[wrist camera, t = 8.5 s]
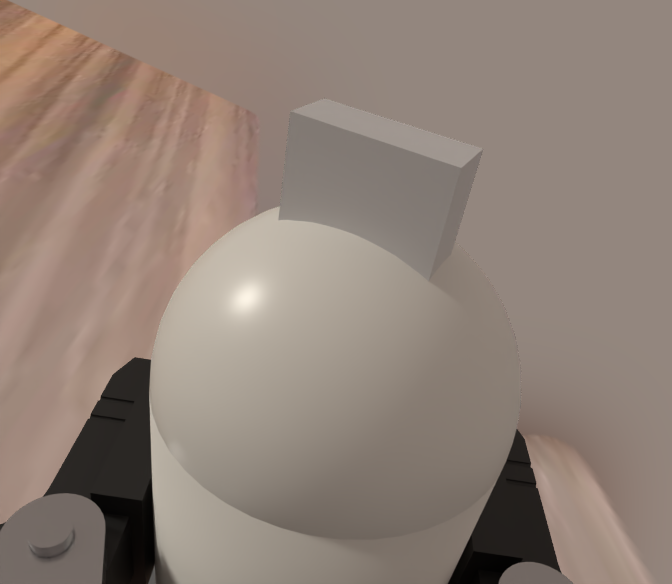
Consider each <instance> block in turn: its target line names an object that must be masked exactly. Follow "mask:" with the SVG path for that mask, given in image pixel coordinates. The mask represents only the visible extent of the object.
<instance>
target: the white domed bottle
mask: <svg viewBox="0 0 672 584" xmlns="http://www.w3.org/2000/svg"><path fill="white" fill-rule="evenodd" d="M482 152H483V148H480V147H476V146H473V145H470V144H467V143H464V142H461V141H458V140H454V139H451V138H448V137H445V136H442V135H439V134H435V133H432V132H429V131H426V130H423V129H420V128H417V127H413V126H410V125H407V124H404V123H401V122H398V121H395V120H391V119H388V118H385V117H382V116H378V115H376V114H372V113H369V112H366V111H363V110H360V109H357V108H353V107H350V106H347V105H344V104H341V103H338V102H335V101H332V100H328V99H322V100H319V101H317V102H314V103H311V104H308V105H306V106H303V107H300V108H298V109H295V110H292V111H291V112H290V119H289V128H288V138H287V147H286V156H285V164H284V173H283V182H282V192H281V201H280V206H279V207H276V208H273V209H270V210H267V211H265V212H263V213H261V214H259V215H257V216H255V217H253V218H251V219H249V220H247V221H245V222H243V223H241V224H239V225H238V226H237V227H235V228H234V229H232V230H231V231H229V232H228V233H227V234H225V235H224V236H223V237H221V238H220V239H219V240H217V241H216V242H215V243H214V244H213V245H212V246H210V247H209V248H208V249H207V250H206V251H205V252H204V253H203V254H202V256H201V257H200V258H199V259H198V260H197V261H196V262H195V263H194V264H193V265H192V267H191V268H190V269H189V271H188V272H187V273H186V275H185V276H184V278H183V279H182V281H181V282H180V284H179V285H178V287H177V288H176V290H175V291H174V293H173V295H172V297H171V299H170V301H169V303H168V306H167V308H166V310H165V312H164V315H163V317H162V319H161V321H160V324H159V328H158V332H157V336H156V340H155V344H154V348H153V352H152V356H151V369H150V388H149V402H150V432H151V462H152V491H153V521H154V551H155V581H156V584H448V582H449V580H450V578H451V576H452V574H453V572H454V570H455V568H456V565H457V563H458V561H459V559H460V557H461V555H462V553H463V551H464V549H465V547H466V544H467V542H468V540H469V538H470V536H471V534H472V532H473V530H474V528H475V526H476V523H477V521H478V519H479V517H480V515H481V513H482V511H483V509H484V507H485V505H486V502H487V500H488V498H489V496H490V494H491V492H492V490H493V488H494V486H495V484H496V481H497V479H498V477H499V475H500V473H501V471H502V469H503V467H504V465H505V463H506V460H507V458H508V455H509V452H510V449H511V447H512V444H513V440H514V437H515V433H516V429H517V425H518V419H519V413H520V407H521V367H520V360H519V354H518V349H517V343H516V338H515V334H514V331H513V329H512V326H511V323H510V320H509V318H508V315H507V312H506V309H505V307H504V305H503V303H502V301H501V299H500V297H499V296H498V294H497V292H496V291H495V289H494V287H493V285H492V284H491V282H490V280H489V279H488V277H487V276H486V275H485V273H484V272H483V271H482V269H481V268H480V267H479V266H478V265H477V263H476V262H475V261H474V260H473V259H472V258H471V257H470V255H469V254H468V253H467V252H466V251H465V250H464V249H463V248H462V247H461V246H460V245H458V244H457V243H456V242H455V240H456V236H457V233H458V229H459V227H460V223H461V220H462V217H463V214H464V210H465V207H466V204H467V201H468V197H469V194H470V191H471V188H472V184H473V181H474V178H475V174H476V171H477V168H478V165H479V161H480V158H481V155H482Z"/></svg>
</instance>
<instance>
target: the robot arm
mask: <svg viewBox="0 0 672 584" xmlns="http://www.w3.org/2000/svg"><path fill="white" fill-rule="evenodd" d="M150 369H151V360H148V359H142V358H136V357H135V358H133V359H132V360H131V361H129V362H128V363H127V364H126V365H124V366H123V367H122V368H121V369H119V370H118V371H117V372H115V373H114V374H113V375H112V377H111V379H110V381H109V382H108V384H107V386H106V388H105V390H104V391H103V393H102V395H101V399H100V401H99V400H98V402H97V404H96V406H95V407H94V409H93V411H92V413H91V416H90V419H88V420H87V422H86V423H85V425H84V427H83V429H82V431H81V432H80V434H79V436H78V438H77V439H76V441H75V443H74V445H73V447H72V448H71V450H70V452H69V454H68V456H67V457H66V459H65V461H64V463H63V464H62V466H61V468H60V470H59V472H58V473H57V475H56V477H55V479H54V480H53V482H52V484H51V486H50V487H49V489H48V490H47V492H46V493H45V495H44V496H43V497H41V498H39V499H36V500H34V501H32V502H30V503H28V504H27V505H25V506H23V507H22V508H20V509H19V510H18V511H17V512H15V513H14V514H13V515H12V516H11V517H10V518H9V519H8V520H7V522H5V523H3V524H0V584H148V583H149V580H150V577H151V574H152V571H153V568H154V565H155V551H154V521H153V491H152V462H151V432H150V402H149V388H150ZM530 465H531V462H530V458H529V454H528V450H527V447H526V443H525V439H524V438H523V436H522V435H521V434H520V432H519V431H518V430H517V429H516V433H515V437H514V440H513V444H512V447H511V449H510V452H509V455H508V458H507V460H506V463H505V465H504V467H503V469H502V471H501V473H500V475H499V477H498V479H497V481H496V484H495V486H494V488H493V490H492V492H491V494H490V496H489V498H488V500H487V502H486V505H485V507H484V509H483V511H482V513H481V515H480V517H479V519H478V521H477V523H476V526H475V528H474V530H473V532H472V534H471V536H470V538H469V540H468V542H467V544H466V547H465V549H464V551H463V553H462V555H461V557H460V559H459V561H458V563H457V565H456V568H455V570H454V572H453V574H452V576H451V578H450V580H449V582H448V584H573V583H572V582H571V581H570V580H569V579H568V578H567V577H566V576H564V575H563V574H562V573H561V571H560V568H559V565H558V562H557V558H556V554H555V551H554V547H553V543H552V539H551V536H550V532H549V528H548V525H547V521H546V517H545V513H544V510H543V506H542V502H541V499H540V495H539V491H538V488H536V480H535V476H534V473H533V469H532V468H531V467H530Z"/></svg>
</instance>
